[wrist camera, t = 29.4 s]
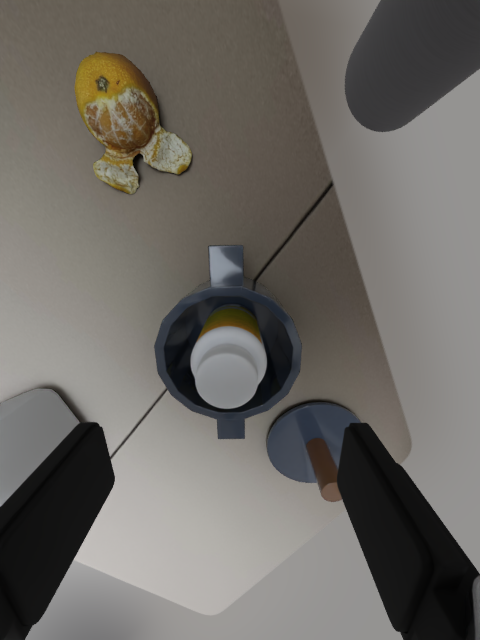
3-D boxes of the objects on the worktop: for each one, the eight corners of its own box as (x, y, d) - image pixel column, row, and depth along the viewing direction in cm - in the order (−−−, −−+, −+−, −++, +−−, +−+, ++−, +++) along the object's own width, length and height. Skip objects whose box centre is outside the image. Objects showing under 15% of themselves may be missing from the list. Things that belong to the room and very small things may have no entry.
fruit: (112, 200, 21) (86, 190, 17) (64, 92, 18) (23, 55, 15) (197, 168, 20) (187, 151, 16) (158, 51, 18) (138, 1, 14)
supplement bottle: (198, 310, 23) (168, 353, 13) (251, 296, 23) (259, 330, 13) (214, 357, 25) (197, 427, 15) (264, 345, 24) (280, 409, 14)
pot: (287, 246, 22) (309, 243, 15) (280, 392, 27) (294, 445, 19) (173, 247, 22) (140, 245, 15) (186, 393, 27) (167, 446, 19)
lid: (368, 398, 27) (408, 443, 20) (354, 474, 30) (385, 533, 24) (267, 399, 27) (275, 444, 21) (265, 475, 30) (271, 534, 24)
